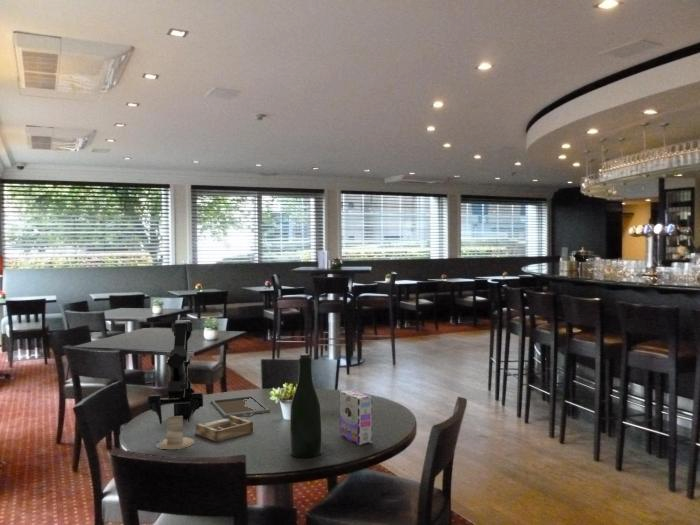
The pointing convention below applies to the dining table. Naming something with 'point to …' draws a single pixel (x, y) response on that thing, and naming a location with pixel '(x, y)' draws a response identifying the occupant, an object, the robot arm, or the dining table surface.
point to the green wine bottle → (305, 414)
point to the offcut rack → (224, 428)
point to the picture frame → (237, 406)
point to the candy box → (356, 417)
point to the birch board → (174, 430)
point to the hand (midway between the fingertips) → (174, 422)
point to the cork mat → (186, 443)
